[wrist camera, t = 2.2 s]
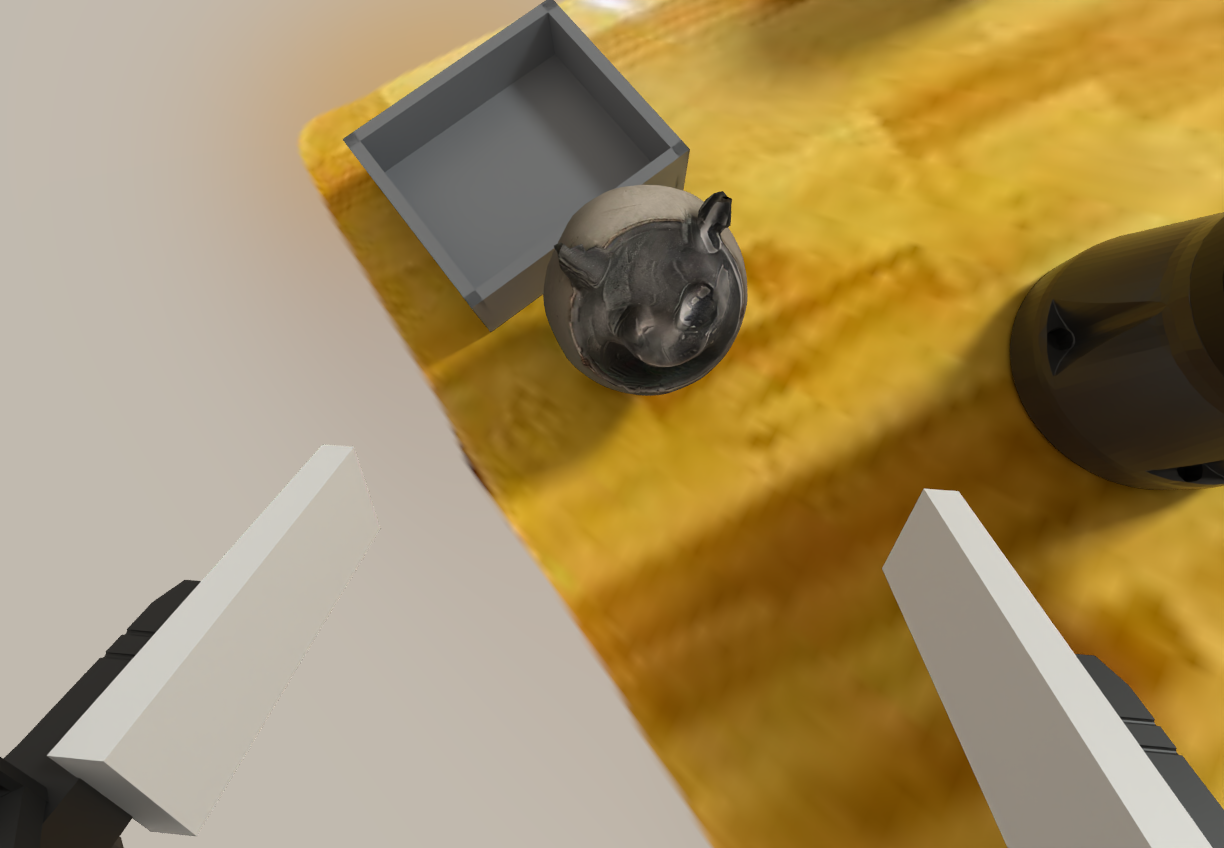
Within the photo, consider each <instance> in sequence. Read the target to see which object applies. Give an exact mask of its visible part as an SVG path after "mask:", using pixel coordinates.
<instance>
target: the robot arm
mask: <svg viewBox="0 0 1224 848" xmlns="http://www.w3.org/2000/svg"><path fill="white" fill-rule="evenodd" d="M1010 358H1011V367H1012V373H1013V378H1014V382H1015V385H1016V388H1017V391H1018V394H1019V396H1020V399H1021V401H1022V403H1023V405H1024V407H1025V409H1026V411H1027V412H1028V414H1029V416H1030V417H1031V419H1032V420H1033V422H1034V423H1035V425H1036V426H1037V427H1038V429H1039V430H1040V431H1041V433H1042V434H1043V435H1044V436H1045V437H1046V438H1047V439H1048V440H1049V441H1050V442H1051V443H1052V444H1053V445H1054V446H1055V447H1056V448H1057V449H1058V450H1059V451H1060V452H1061V453H1063V454H1064V455H1065V456H1066V457H1068V458H1069V459H1070V460H1072V461H1073V462H1075V463H1076V464H1078V465H1079V466H1081V467H1082V468H1084V469H1086V470H1088V471H1089V472H1091V473H1094V474H1096V475H1098V476H1100V477H1102V478H1105V479H1107V480H1110V481H1113V482H1116V483H1119V484H1122V485H1126V486H1130V487H1136V488H1142V489H1152V490H1173V489H1198V488H1212V487H1218V486H1224V212H1223V213H1218V214H1214V215H1210V216H1205V217H1201V218H1197V219H1192V220H1188V221H1184V222H1179V223H1175V224H1171V225H1167V226H1162V227H1158V228H1154V229H1149V230H1145V231H1141V232H1136V233H1132V234H1127V235H1123V236H1119V237H1116V238H1113V239H1110V240H1107V241H1105V242H1102V243H1100V244H1097V245H1095V246H1093V247H1091V248H1089V249H1087V250H1085V251H1083V252H1082V253H1080V254H1078V255H1076V256H1075V257H1073V258H1071V259H1069V260H1068V261H1066V262H1064V263H1062V264H1061V265H1059V266H1057V267H1056V268H1054V269H1053V270H1051V271H1050V272H1049V273H1047V274H1046V275H1045V276H1044V277H1043V278H1041V279H1040V280H1039V281H1038V282H1037V283H1036V284H1035V286H1034V287H1033V288H1032V289H1031V290H1030V292H1029V293H1028V295H1027V296H1026V298H1025V299H1024V301H1023V303H1022V304H1021V306H1020V309H1019V311H1018V313H1017V316H1016V319H1015V322H1014V325H1013V329H1012V335H1011V344H1010ZM380 529H381V528H380V525H379V521H378V518H377V516H376V512H375V509H374V506H373V503H372V500H371V497H370V494H369V491H368V488H367V484H366V481H365V478H364V475H363V472H362V469H361V466H360V463H359V460H358V457H357V454H356V451H355V447H351V446H337V445H324V444H323V445H322V446H321V447H320V448H319V449H318V450H317V451H316V452H315V453H314V455H313V456H312V457H311V458H310V459H309V460H308V461H307V463H306V464H305V465H304V466H303V467H302V468H301V469H300V470H299V472H298V473H297V474H296V475H295V476H294V477H293V478H292V480H291V481H290V482H289V483H288V484H287V485H286V486H285V487H284V489H283V490H282V491H281V492H280V493H279V494H278V495H277V496H276V497H275V499H274V500H273V501H272V502H271V503H270V504H269V505H268V507H267V508H266V509H265V510H264V511H263V512H262V513H261V515H260V516H259V517H258V518H257V519H256V520H255V521H254V523H252V525H251V526H250V527H249V528H248V529H247V530H246V531H245V533H244V534H243V535H242V536H241V537H240V538H239V539H238V541H236V543H235V544H234V545H233V546H232V547H231V548H230V549H229V551H228V552H227V553H226V554H225V555H224V556H223V557H222V558H221V560H220V561H219V562H218V563H217V564H216V565H215V566H214V567H213V569H212V570H211V571H210V572H209V573H208V574H207V575H206V576H205V578H204V579H203V580H202V581H191V580H184V581H182V582H181V583H180V584H178V585H177V586H175V587H174V588H172V589H171V590H169V591H168V592H167V593H165V594H164V595H162V596H161V597H159V598H158V599H156V600H155V601H154V602H152V603H151V604H150V605H149V606H148V608H147V609H146V610H145V611H144V612H143V613H142V614H141V615H140V616H139V617H138V618H137V619H136V620H135V621H134V622H133V623H132V625H131V626H130V627H129V628H128V629H127V633H126V634H125V635H121V636H120V637H119V638H118V640H116V641H115V643H114V644H113V645H112V646H111V647H110V648H109V649H108V650H107V651H106V655H105V657H103V658H99V660H98V661H97V662H96V663H95V664H94V665H93V666H92V667H91V668H90V669H89V670H88V671H87V673H85V674H84V675H83V677H82V678H81V679H80V680H79V681H78V682H77V683H76V684H75V685H74V686H73V687H72V688H71V689H70V690H69V691H68V692H67V693H66V695H65V696H64V697H63V698H62V699H61V700H60V701H59V702H58V703H57V704H56V705H55V706H54V707H53V708H52V709H51V710H50V711H49V713H48V714H47V715H46V716H45V717H44V718H43V719H42V720H41V721H40V722H39V723H38V724H37V725H36V727H34V729H33V730H32V731H31V732H30V733H29V734H28V735H27V736H26V737H25V738H24V739H23V740H22V741H21V742H20V743H19V744H18V745H17V747H15V748H14V749H13V750H12V751H11V752H10V753H9V754H8V755H7V756H6V757H5V758H4V759H3V758H1V757H0V848H123V844H122V840H121V837H119V836H120V835H121V833H122V832H123V830H124V829H125V827H126V826H127V825H128V823H129V822H130V820H131V819H132V818H133V819H134V820H136V821H137V822H138V823H140V824H141V825H143V826H144V827H145V828H147V829H148V830H149V831H151V832H160V833H170V834H179V835H189V836H197V835H198V834H199V832H200V830H201V829H202V827H203V825H204V823H205V822H206V820H207V818H208V817H209V815H210V813H211V812H212V810H213V808H214V807H215V805H216V803H217V802H218V800H219V798H220V797H221V795H222V793H223V791H224V790H225V788H226V787H227V785H228V783H229V782H230V780H231V778H232V777H233V775H234V773H235V772H236V770H237V768H238V767H239V765H240V763H241V762H242V760H243V758H244V757H245V755H246V753H247V751H248V750H249V748H250V747H251V745H252V743H253V741H254V740H255V738H256V737H257V735H258V733H259V732H260V730H261V728H262V726H263V725H264V723H265V721H266V720H267V718H268V716H269V715H270V713H271V711H272V710H273V708H274V706H275V705H276V703H277V701H278V700H279V698H280V696H281V695H282V693H283V691H284V690H285V688H286V686H287V685H288V683H289V681H290V680H291V677H292V676H293V675H294V673H295V671H296V670H297V668H298V666H299V665H300V663H301V661H302V660H303V658H304V656H305V654H306V653H307V651H308V649H309V648H310V646H311V645H312V643H313V641H314V640H315V638H316V636H317V635H318V633H319V631H320V629H321V628H322V626H323V624H324V623H325V621H326V619H327V618H328V616H329V614H330V613H331V611H332V609H333V608H334V606H335V604H336V603H337V601H338V599H339V598H340V596H341V594H342V593H343V591H344V589H345V588H346V586H347V584H348V583H349V581H350V579H351V577H352V576H353V574H354V573H355V571H356V569H357V568H358V566H359V564H360V562H361V561H362V559H363V557H364V556H365V554H366V552H367V551H368V549H369V547H370V546H371V544H372V543H373V541H374V539H375V538H376V536H377V534H378V533H379V531H380ZM882 570H883V572H884V574H885V576H886V578H887V581H888V583H889V585H890V587H891V590H892V592H893V594H894V596H895V599H896V601H897V603H898V605H899V607H900V610H901V612H902V614H903V616H904V619H905V621H906V623H907V625H908V627H909V630H910V632H911V634H912V636H913V639H914V641H915V643H916V645H917V647H918V650H919V652H920V654H921V656H922V659H923V661H924V663H925V665H926V667H927V670H928V672H929V674H930V676H931V679H932V681H933V683H934V685H935V687H936V690H937V692H938V694H939V696H940V699H941V701H942V703H943V705H944V707H945V710H946V712H947V714H948V716H949V719H950V721H951V723H952V725H953V727H954V730H955V732H956V734H957V736H958V739H959V741H960V743H961V745H962V747H963V750H964V752H965V754H966V756H967V759H968V761H969V763H970V765H971V767H972V770H973V772H974V774H975V776H976V779H977V781H978V783H979V785H980V787H981V790H982V792H983V794H984V796H985V799H986V801H987V803H988V805H989V807H990V810H991V812H992V814H993V816H994V819H995V821H996V823H997V825H998V827H999V830H1000V832H1001V834H1002V836H1003V839H1004V841H1005V843H1006V845H1007V847H1008V848H1224V810H1223V808H1222V807H1221V806H1220V804H1219V803H1218V802H1217V800H1216V799H1215V798H1214V797H1213V795H1212V794H1211V793H1210V791H1209V790H1208V789H1207V787H1206V786H1205V785H1204V783H1203V782H1202V781H1201V780H1200V778H1199V777H1198V776H1197V774H1196V773H1195V772H1194V770H1193V769H1192V768H1191V766H1190V765H1189V764H1188V762H1187V761H1186V760H1185V759H1184V757H1183V756H1182V755H1178V754H1177V752H1176V747H1175V745H1174V744H1173V743H1172V742H1171V740H1170V739H1169V738H1168V736H1167V735H1166V734H1165V732H1164V731H1163V730H1162V728H1161V727H1160V726H1156V725H1155V723H1154V720H1155V719H1154V718H1153V717H1152V715H1151V714H1150V713H1149V711H1148V710H1147V709H1146V708H1145V706H1144V705H1143V704H1142V702H1141V701H1140V700H1139V698H1138V697H1137V696H1136V694H1135V693H1134V692H1133V690H1132V689H1131V688H1130V687H1129V685H1128V684H1126V683H1125V682H1124V681H1123V680H1122V679H1121V678H1120V677H1118V676H1117V675H1116V674H1115V673H1114V672H1113V671H1112V670H1110V669H1109V668H1108V667H1107V666H1106V665H1105V664H1104V663H1102V662H1101V661H1100V660H1099V659H1098V658H1097V657H1096V656H1092V655H1080V654H1074V652H1073V651H1072V650H1071V648H1070V647H1069V645H1068V644H1067V643H1066V641H1065V640H1064V638H1063V637H1062V636H1061V634H1060V633H1059V631H1058V630H1057V629H1056V627H1055V626H1054V624H1053V623H1052V622H1051V620H1050V619H1049V617H1048V616H1047V615H1046V613H1045V612H1044V610H1043V609H1042V608H1041V606H1040V605H1039V603H1038V602H1037V601H1036V599H1035V598H1034V596H1033V595H1032V594H1031V592H1030V591H1029V589H1028V588H1027V587H1026V585H1025V584H1024V582H1023V581H1022V579H1021V578H1020V577H1019V575H1018V574H1017V572H1016V571H1015V570H1014V568H1013V567H1012V565H1011V564H1010V563H1009V561H1008V560H1007V558H1006V557H1005V556H1004V554H1003V553H1002V551H1001V550H1000V549H999V547H998V546H997V544H996V543H995V542H994V540H993V539H992V537H991V536H990V535H989V533H988V532H987V530H986V529H985V528H984V526H983V525H982V523H981V522H980V521H979V519H978V518H977V516H976V515H975V514H974V512H973V511H972V509H971V508H970V507H969V505H968V504H967V502H966V501H965V500H964V498H963V497H962V495H961V494H960V492H959V491H949V490H936V489H923V491H922V493H921V495H920V497H919V499H918V501H917V503H916V504H915V506H914V508H913V510H912V512H911V514H910V516H909V518H908V520H907V522H906V524H905V526H904V527H903V529H902V531H901V533H900V535H899V537H898V539H897V541H896V543H895V545H894V547H893V548H892V550H891V552H890V554H889V556H888V558H887V560H886V562H885V564H884V566H883V568H882Z"/></svg>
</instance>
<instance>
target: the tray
mask: <svg viewBox="0 0 1224 848" xmlns="http://www.w3.org/2000/svg"><path fill="white" fill-rule="evenodd" d="M343 141H344V142H345V143H346V145H347V146H348V147H349V148H350V150H351V151H352V152H353V154H354V155H355V156H356V158H357V159H358V160H359V162H360V163H361V164H362V165H363V167H364V168H365V169H366V171H367V172H368V173H369V175H370V176H371V177H372V179H373V180H374V181H375V182H376V184H377V185H378V186H379V188H380V189H381V190H382V192H383V193H384V194H385V196H386V197H387V198H388V199H389V201H390V202H391V203H392V205H393V206H394V207H395V209H396V210H397V211H398V213H399V214H400V215H401V217H402V218H403V219H404V220H405V222H406V223H407V224H408V226H409V227H410V228H411V230H412V231H413V232H414V234H415V235H416V236H417V237H418V239H419V240H420V241H421V243H422V244H423V245H424V247H425V248H426V249H427V251H428V252H429V253H430V254H431V256H432V257H433V258H434V260H435V261H436V262H437V264H438V265H439V266H440V268H441V269H442V270H443V271H444V273H445V274H446V275H447V277H448V278H449V279H450V281H451V282H452V283H453V285H454V286H455V287H456V288H457V290H458V291H459V292H460V294H461V295H462V296H463V298H464V299H465V300H466V302H467V303H468V304H469V305H470V307H471V308H472V309H473V311H474V312H475V313H476V314H477V316H478V317H479V318H480V319H481V321H482V322H483V323H484V324H485V326H486V327H487V328H488V329H489V331H490V332H492V331H493V330H495V329H496V328H497V327H499V326H500V325H501V324H503V323H504V322H505V321H507V320H508V319H510V318H511V317H512V316H514V315H515V314H516V313H518V312H519V311H520V310H522V309H523V308H524V307H526V306H527V305H529V304H530V303H531V302H533V301H534V300H535V299H537V298H538V297H539V296H541V295H542V294H544V283H545V276H546V270H547V266H548V263H549V261H550V259H551V256H552V254H553V252H554V250H555V249H554V245H556V244H558V241H559V239H560V237H561V235H562V233H563V231H564V230H565V228H566V226H567V224H568V222H569V221H570V219H571V218H572V216H573V215H574V214H575V213H576V212H577V211H578V210H579V209H580V208H581V207H583V206H584V205H585V204H586V203H588V202H589V201H591V200H592V199H594V198H596V197H597V196H599V195H601V194H603V193H605V192H607V191H610V190H612V189H616V188H621V187H626V186H635V185H659V186H666V187H672V188H675V189H679V190H683V189H684V183H685V176H686V170H687V164H688V158H689V152H690V149H689V148H688V147H687V146H686V145H685V144H684V142H683V141H682V140H681V139H680V138H679V137H678V136H677V135H676V134H675V133H674V132H673V130H672V129H671V128H670V127H669V126H668V125H667V124H666V123H665V122H664V121H663V119H662V118H661V117H660V116H659V115H658V114H657V113H656V112H655V111H654V110H653V109H652V107H651V106H650V105H649V104H648V103H647V102H646V101H645V100H644V99H643V98H642V96H641V95H640V94H639V93H638V92H637V91H636V90H635V89H634V88H633V87H632V86H631V84H630V83H629V82H628V81H627V80H626V79H625V78H624V77H623V76H622V75H621V74H620V72H619V71H618V70H617V69H616V68H615V67H614V66H613V65H612V64H611V63H610V61H609V60H608V59H607V58H606V57H605V56H604V55H603V54H602V53H601V52H600V51H599V49H598V48H597V47H596V46H595V45H594V44H593V43H592V42H591V41H590V40H589V38H588V37H587V36H586V35H585V34H584V33H583V32H582V31H581V30H580V29H579V28H578V26H577V25H576V24H575V23H574V22H573V21H572V20H571V19H570V18H569V17H568V16H567V14H566V13H565V12H564V11H563V10H562V9H561V8H560V7H559V6H558V5H557V3H556V2H555V1H554V0H546V1H544V2H543V3H541V4H540V5H538V6H537V7H536V8H534V9H533V10H531V11H530V12H528V13H527V14H525V15H524V16H523V17H521V18H519V19H518V20H517V21H515V22H514V23H512V24H511V25H509V26H508V27H506V28H505V29H503V30H502V31H500V32H499V33H497V34H496V35H495V36H493V37H492V38H490V39H489V40H487V41H486V42H484V43H483V44H481V45H480V46H478V47H477V48H476V49H474V50H473V51H471V52H470V53H468V54H467V55H465V56H464V57H462V58H461V59H459V60H458V61H456V62H455V63H454V64H452V65H451V66H449V67H448V68H446V69H445V70H443V71H442V72H440V73H439V74H437V75H436V76H435V77H433V78H432V79H430V80H429V81H427V82H426V83H424V84H423V85H421V86H420V87H418V88H417V89H415V90H414V91H413V92H411V93H410V94H408V95H407V96H405V97H404V98H402V99H401V100H399V101H398V102H396V103H395V104H394V105H392V106H391V107H389V108H388V109H386V110H385V111H383V112H382V113H380V114H379V115H377V116H376V117H374V118H373V119H372V120H370V121H369V122H367V123H366V124H364V125H363V126H361V127H360V128H358V129H357V130H355V131H354V132H353V133H351V134H350V135H348V136H347V137H345V138H344V139H343Z"/></svg>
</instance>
